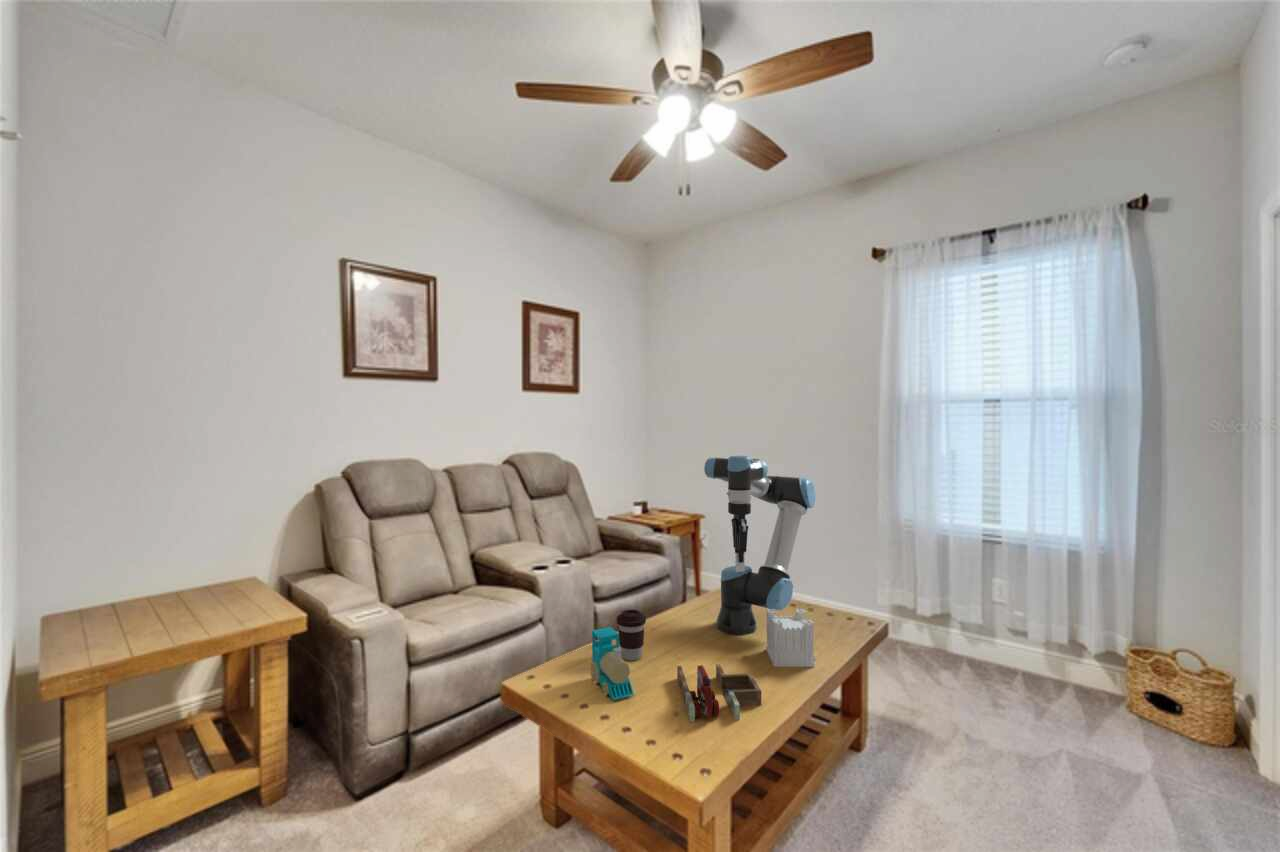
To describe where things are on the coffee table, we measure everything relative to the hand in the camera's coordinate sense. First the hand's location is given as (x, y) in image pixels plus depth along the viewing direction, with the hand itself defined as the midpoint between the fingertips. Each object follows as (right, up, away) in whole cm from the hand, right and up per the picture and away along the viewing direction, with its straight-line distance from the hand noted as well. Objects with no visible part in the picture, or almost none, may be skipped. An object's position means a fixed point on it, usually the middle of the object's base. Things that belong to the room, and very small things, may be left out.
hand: (740, 570), depth 183 cm
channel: (-15, -30, -27) cm, 42 cm away
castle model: (+18, -29, -1) cm, 34 cm away
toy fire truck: (-16, -30, -33) cm, 48 cm away
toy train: (-42, -30, -20) cm, 56 cm away
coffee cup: (-37, -30, +1) cm, 47 cm away
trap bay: (-5, -30, -26) cm, 40 cm away
